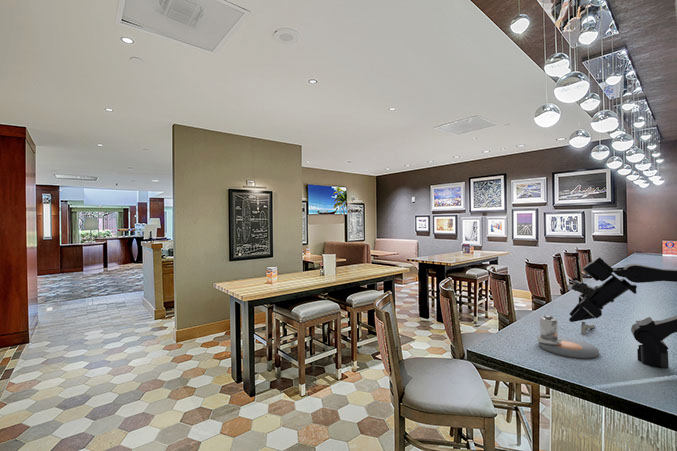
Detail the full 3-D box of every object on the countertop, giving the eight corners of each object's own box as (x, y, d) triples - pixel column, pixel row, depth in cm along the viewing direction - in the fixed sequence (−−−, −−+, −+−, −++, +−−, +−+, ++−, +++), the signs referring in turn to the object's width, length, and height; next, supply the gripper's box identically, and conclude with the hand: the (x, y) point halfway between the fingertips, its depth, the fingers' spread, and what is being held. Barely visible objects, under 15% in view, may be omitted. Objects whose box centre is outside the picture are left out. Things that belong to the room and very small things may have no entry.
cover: (566, 345, 116) (565, 318, 116) (548, 346, 115) (548, 319, 115) (549, 338, 124) (548, 313, 124) (532, 339, 122) (531, 314, 123)
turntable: (612, 355, 109) (612, 352, 109) (568, 360, 106) (568, 357, 106) (566, 338, 127) (566, 335, 127) (527, 342, 123) (527, 339, 123)
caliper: (584, 337, 131) (584, 322, 131) (581, 337, 132) (580, 322, 132) (595, 327, 144) (594, 313, 144) (592, 326, 145) (591, 313, 145)
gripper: (586, 270, 120) (552, 296, 126) (587, 277, 105) (549, 305, 112) (614, 293, 115) (577, 318, 121) (620, 303, 100) (577, 331, 107)
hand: (570, 317), depth 115 cm, fingers open, 9 cm apart
